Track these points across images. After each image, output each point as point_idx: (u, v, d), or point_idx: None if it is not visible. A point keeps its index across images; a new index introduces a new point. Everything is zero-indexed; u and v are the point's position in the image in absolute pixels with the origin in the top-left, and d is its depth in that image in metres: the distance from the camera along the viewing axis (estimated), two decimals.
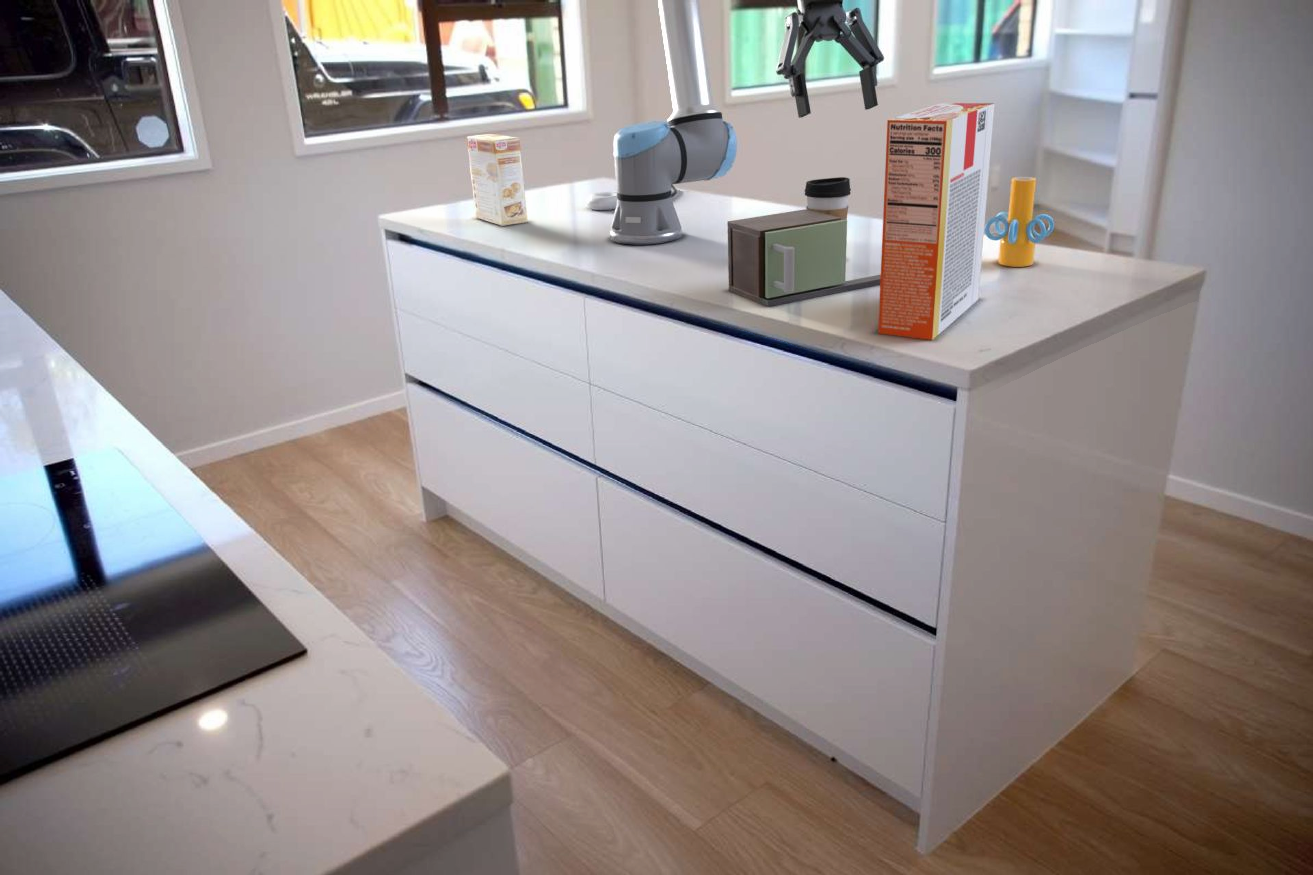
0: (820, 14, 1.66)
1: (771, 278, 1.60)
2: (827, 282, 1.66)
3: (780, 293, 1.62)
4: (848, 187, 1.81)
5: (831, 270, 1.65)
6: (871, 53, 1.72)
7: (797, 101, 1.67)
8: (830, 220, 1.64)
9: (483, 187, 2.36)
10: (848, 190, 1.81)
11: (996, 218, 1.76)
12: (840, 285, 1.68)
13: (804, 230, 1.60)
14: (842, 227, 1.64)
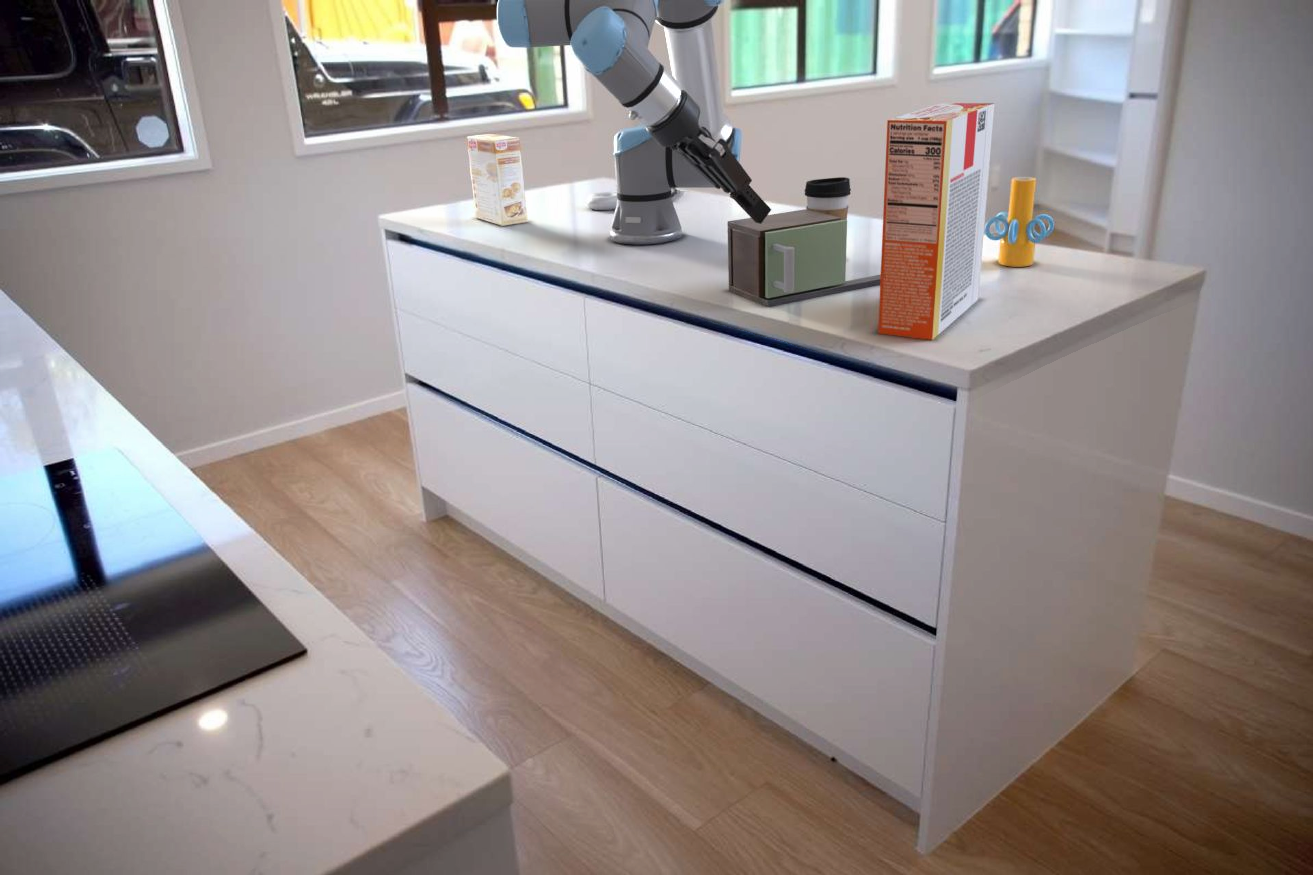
0: None
1: (771, 278, 1.60)
2: (827, 282, 1.66)
3: (780, 293, 1.62)
4: (848, 187, 1.81)
5: (831, 270, 1.65)
6: None
7: None
8: (830, 220, 1.64)
9: (483, 187, 2.36)
10: (848, 190, 1.81)
11: (996, 218, 1.76)
12: (840, 285, 1.68)
13: (804, 230, 1.60)
14: (842, 227, 1.64)
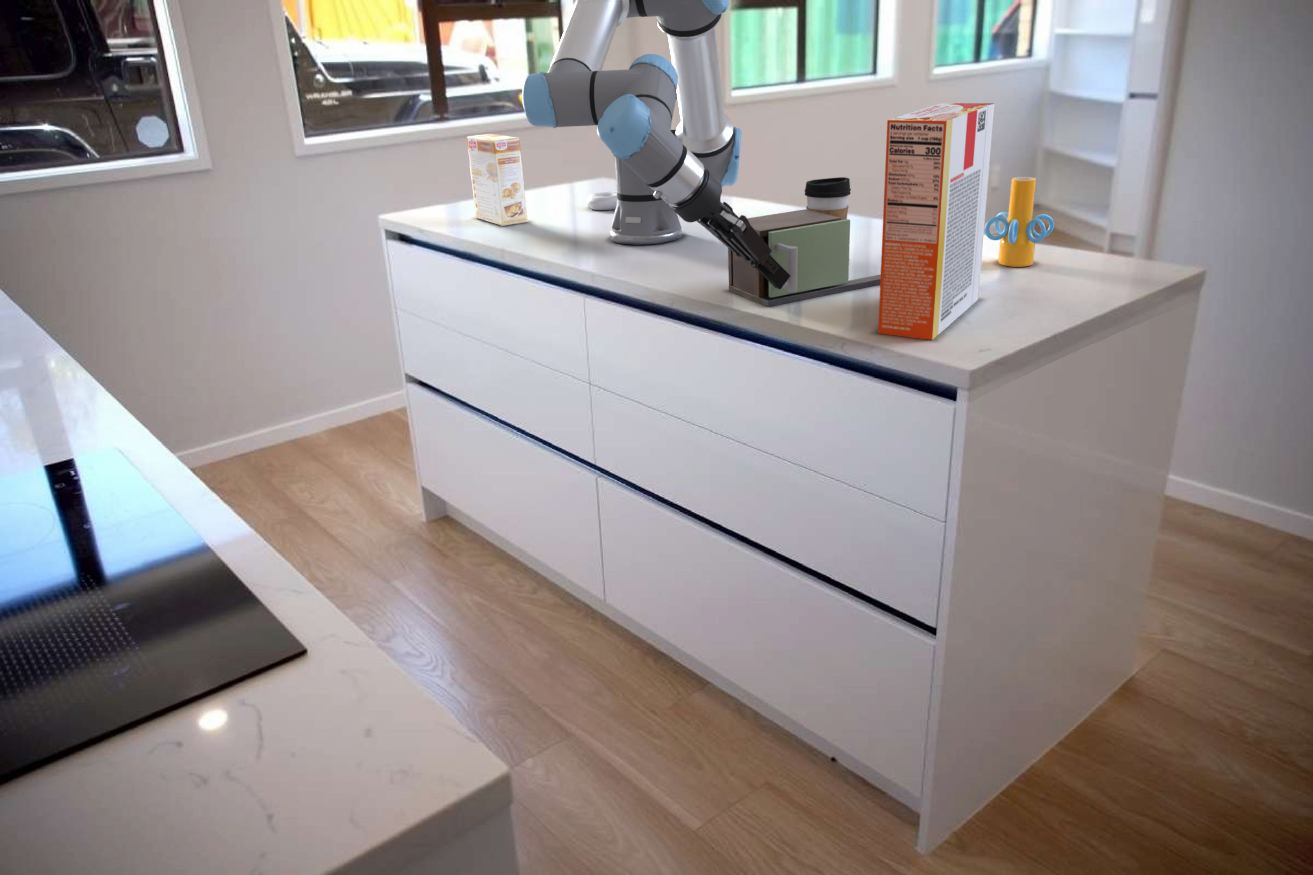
0: None
1: None
2: (830, 281, 1.66)
3: (783, 292, 1.62)
4: (848, 187, 1.81)
5: (835, 270, 1.66)
6: None
7: None
8: (830, 220, 1.64)
9: (483, 187, 2.36)
10: (848, 190, 1.81)
11: (996, 218, 1.76)
12: (840, 285, 1.68)
13: (807, 229, 1.60)
14: (845, 226, 1.64)
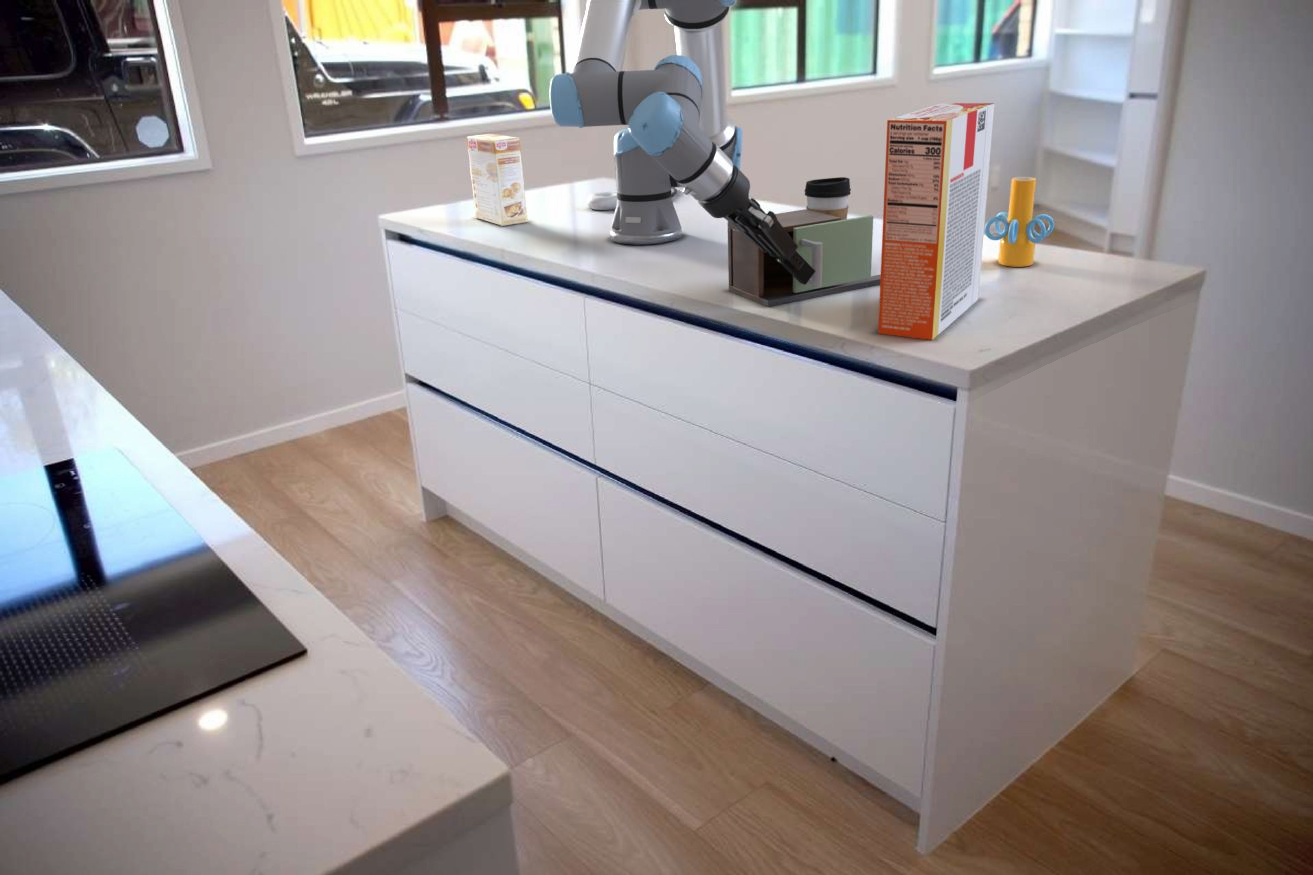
0: None
1: None
2: (853, 277, 1.68)
3: (807, 288, 1.64)
4: (848, 187, 1.81)
5: (857, 265, 1.68)
6: None
7: None
8: (830, 220, 1.64)
9: (483, 187, 2.36)
10: (848, 190, 1.81)
11: (996, 218, 1.76)
12: (840, 285, 1.68)
13: (831, 225, 1.62)
14: (868, 223, 1.66)
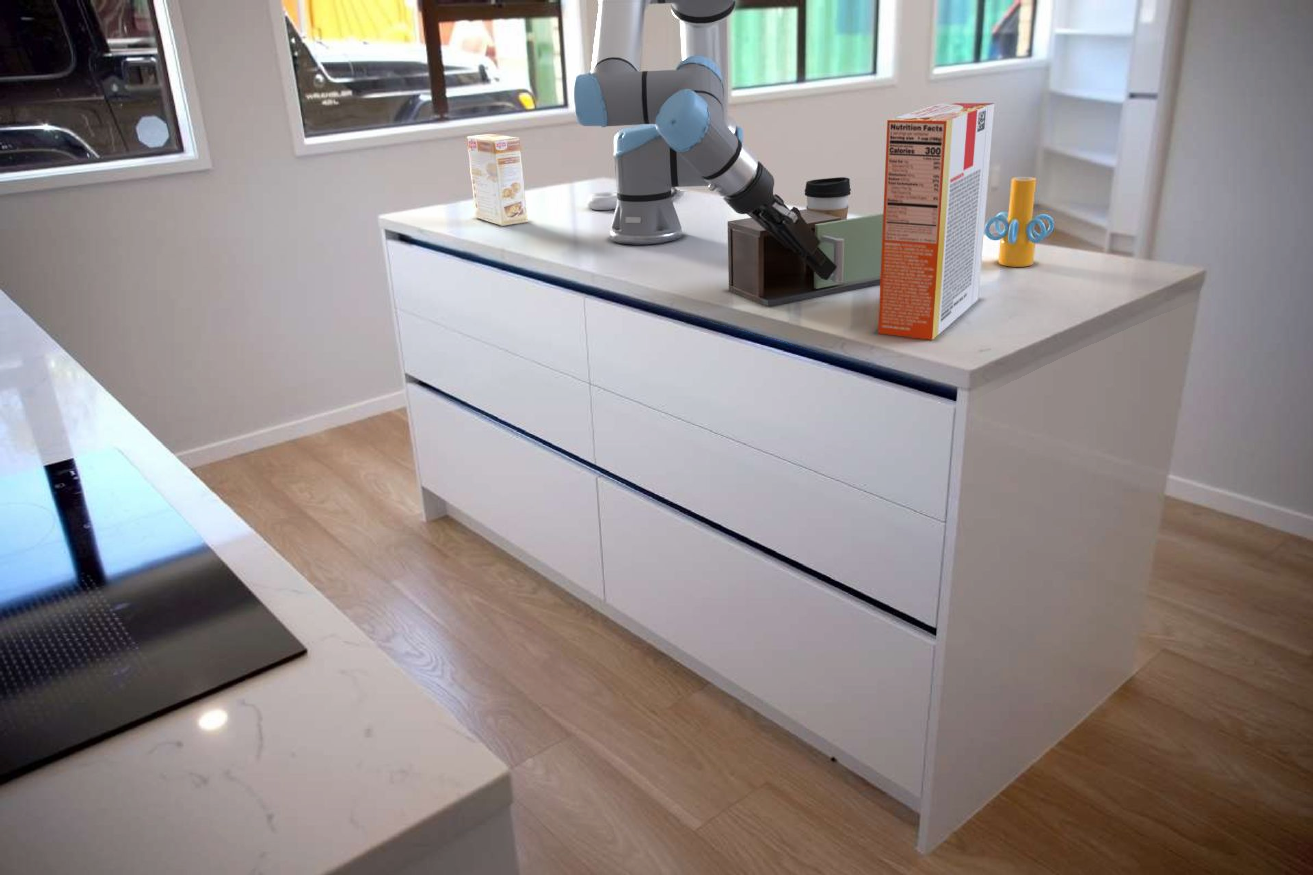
0: None
1: None
2: (873, 273, 1.70)
3: (828, 284, 1.66)
4: (848, 187, 1.81)
5: (877, 261, 1.69)
6: None
7: None
8: (830, 220, 1.64)
9: (483, 187, 2.36)
10: (848, 190, 1.81)
11: (996, 218, 1.76)
12: (840, 285, 1.68)
13: (852, 222, 1.64)
14: None
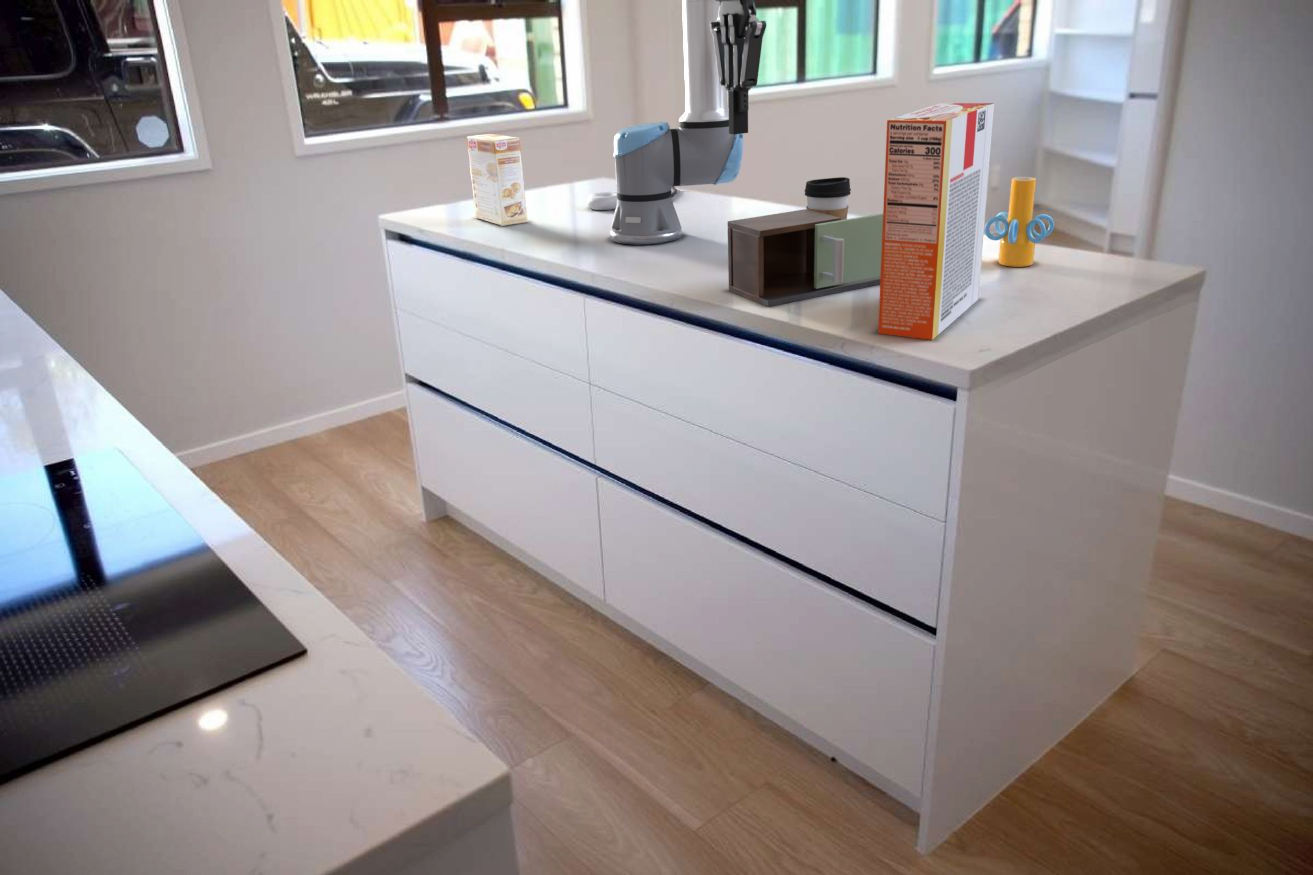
0: (727, 11, 1.54)
1: (820, 269, 1.64)
2: (873, 273, 1.70)
3: (828, 284, 1.66)
4: (848, 187, 1.81)
5: (877, 261, 1.69)
6: None
7: None
8: (830, 220, 1.64)
9: (483, 187, 2.36)
10: (848, 190, 1.81)
11: (996, 218, 1.76)
12: (840, 285, 1.68)
13: (852, 222, 1.64)
14: None
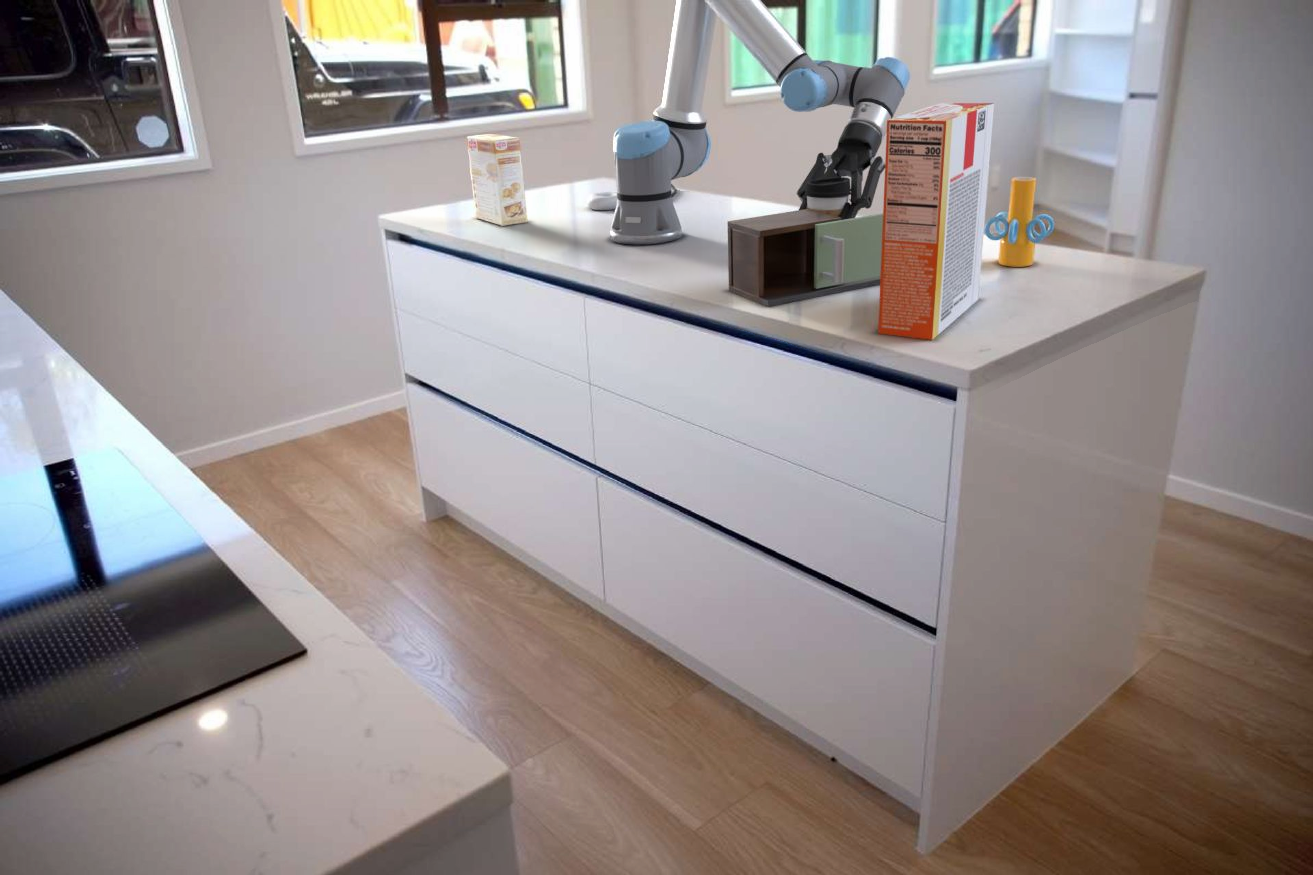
0: (845, 152, 1.88)
1: (820, 269, 1.64)
2: (873, 273, 1.70)
3: (828, 284, 1.66)
4: (848, 187, 1.81)
5: (877, 261, 1.69)
6: None
7: None
8: (830, 220, 1.64)
9: (483, 187, 2.36)
10: (848, 190, 1.81)
11: (996, 218, 1.76)
12: (840, 285, 1.68)
13: (852, 222, 1.64)
14: None
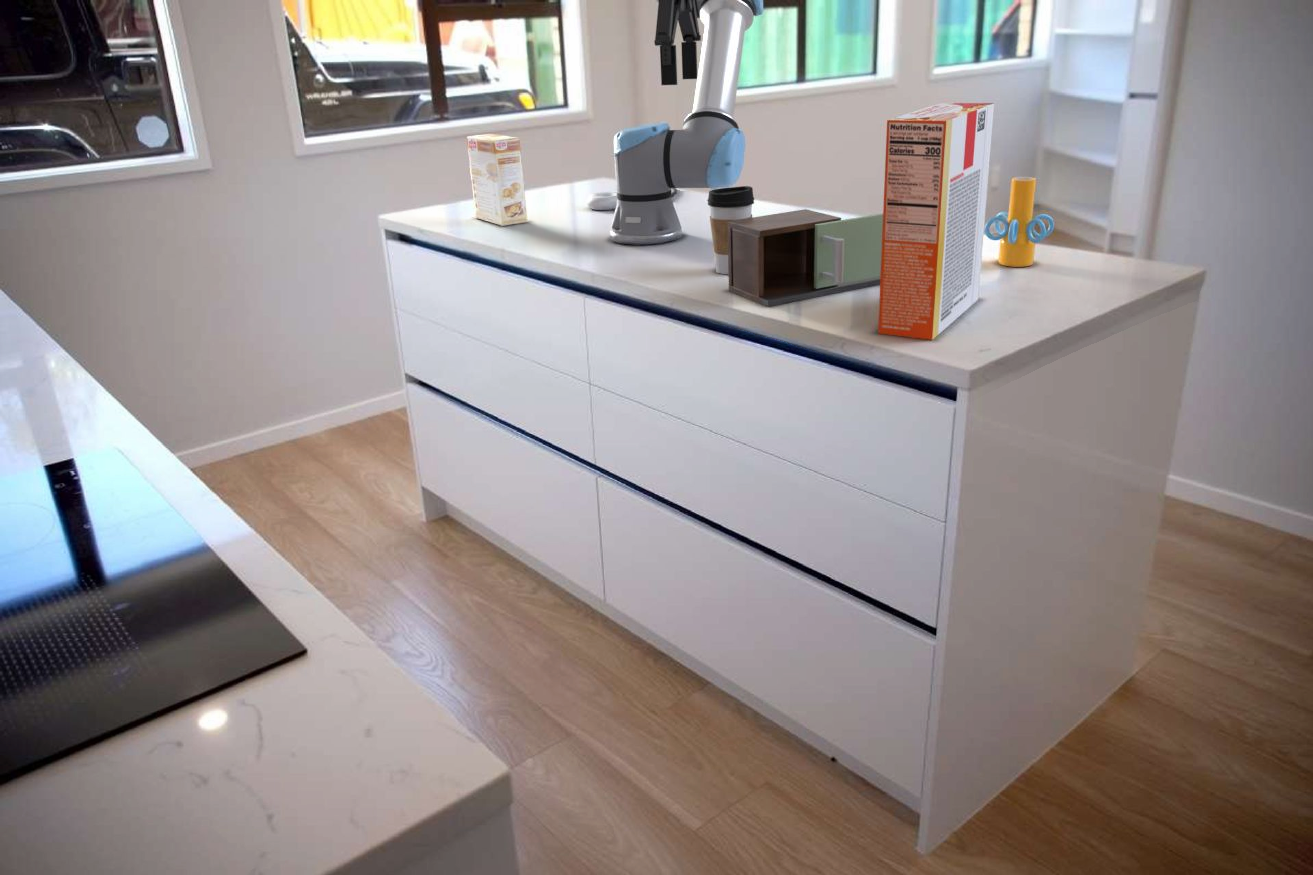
0: None
1: (820, 269, 1.64)
2: (873, 273, 1.70)
3: (828, 284, 1.66)
4: (751, 196, 1.77)
5: (877, 261, 1.69)
6: None
7: None
8: (830, 220, 1.64)
9: (483, 187, 2.36)
10: (750, 199, 1.77)
11: (996, 218, 1.76)
12: (840, 285, 1.68)
13: (852, 222, 1.64)
14: None
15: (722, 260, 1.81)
